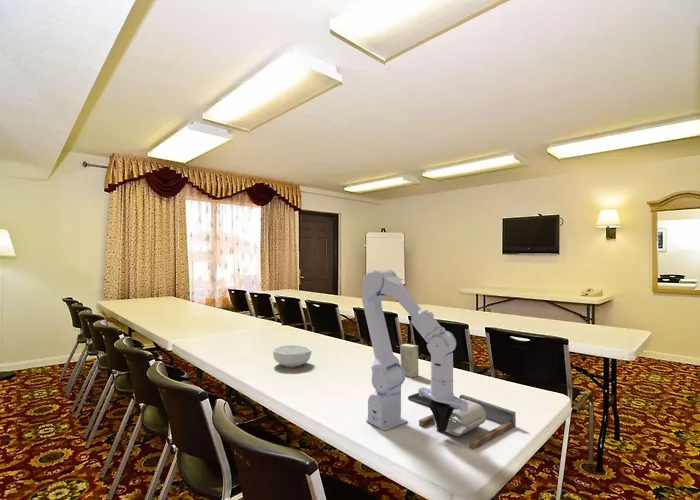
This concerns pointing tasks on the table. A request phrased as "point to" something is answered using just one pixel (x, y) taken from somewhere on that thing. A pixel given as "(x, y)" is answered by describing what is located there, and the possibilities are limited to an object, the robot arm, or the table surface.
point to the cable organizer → (465, 419)
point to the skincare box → (409, 359)
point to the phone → (420, 399)
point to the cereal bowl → (292, 355)
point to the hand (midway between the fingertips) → (442, 430)
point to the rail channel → (492, 413)
